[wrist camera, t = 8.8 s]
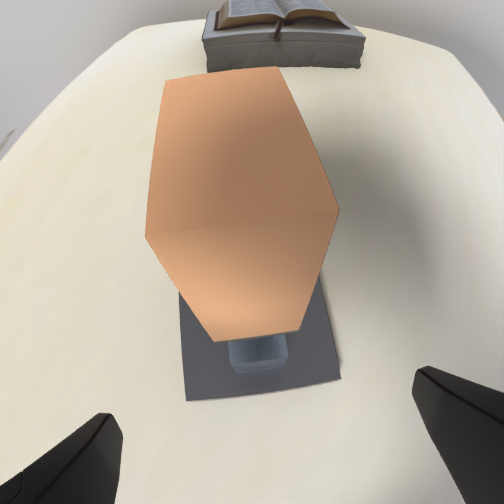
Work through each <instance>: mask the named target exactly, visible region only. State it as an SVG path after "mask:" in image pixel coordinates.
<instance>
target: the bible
mask: <svg viewBox="0 0 504 504" xmlns="http://www.w3.org/2000/svg"><path fill="white" fill-rule="evenodd" d="M365 39H366V37H365V36H364V35H363V34H362V33H361V32H359V31H358V30H357V29H356V28H355V27H354V26H352V25H351V24H350V23H349V22H347V21H346V20H345V19H344V18H343V17H342V16H340V15H339V14H338V13H337V12H335V11H334V10H333V9H331V8H328V7H327V6H326V5H324V4H323V3H322V2H321V1H320V0H228V1H227V2H226V3H225V4H224V5H223V6H222V8H221V9H220V10H212V11H209V12H208V15H207V19H206V24H205V28H204V31H203V35H202V42H203V43H204V49H205V52H206V55H207V73H212V72H221V71H228V70H233V69H247V68H259V67H273V66H278V67H303V66H304V67H310V66H312V67H326V68H356V69H358V68H360V66H361V64H360V60H359V59H360V57H361V56H362V53H363V49H364V42H365Z"/></svg>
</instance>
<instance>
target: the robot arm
mask: <svg viewBox="0 0 504 504" xmlns="http://www.w3.org/2000/svg"><path fill="white" fill-rule="evenodd" d="M412 395H413V398H414V400H415V403H416V405H417V407H418V410H419V412H420V414H421V417H422V419H423V421H424V424H425V426H426V429H427V431H428V433H429V435H430V437H431V439H432V441H433V442H434V444H435V446H436V448H437V450H438V451H439V453H440V455H441V457H442V459H443V461H444V462H445V464H446V466H447V468H448V470H449V472H450V474H451V475H452V477H453V479H454V481H455V483H456V485H457V487H458V489H459V491H460V493H461V495H462V497H463V499H464V501H465V503H466V504H504V393H503V392H500V391H497V390H494V389H491V388H488V387H485V386H483V385H480V384H477V383H474V382H472V381H469V380H466V379H463V378H461V377H458V376H455V375H452V374H450V373H447V372H444V371H442V370H439V369H437V368H434V367H431V366H425V367H422V368H420V369H418V370H417V371H416V373H415V378H414V382H413V387H412ZM122 443H123V434H122V431H121V429H120V427H119V426H118V424H117V422H116V420H115V418H114V416H113V415H112V414H110V413H98V414H97V415H95V416H94V417H93V418H91V419H90V420H89V421H88V422H86V423H85V424H84V425H82V426H81V427H80V428H78V429H77V430H76V431H75V432H73V433H72V434H71V435H69V436H68V437H67V438H65V439H64V440H63V441H61V442H60V443H59V444H58V445H56V446H55V447H54V448H52V449H51V450H50V451H48V452H47V453H46V454H44V455H43V456H41V457H40V458H39V459H37V460H36V461H35V462H33V463H32V464H31V465H29V466H28V467H27V468H25V469H24V470H23V472H22V471H21V472H20V473H18V474H17V475H15V476H14V477H13V478H11V479H10V480H8V481H7V482H5V483H4V484H2V485H1V486H0V504H114V503H115V498H116V493H117V487H118V482H119V475H120V464H121V453H122Z"/></svg>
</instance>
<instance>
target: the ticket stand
mask: <svg viewBox="0 0 504 504" xmlns="http://www.w3.org/2000/svg"><path fill="white" fill-rule="evenodd" d="M179 310H180V329H181V345H182V359H183V372H184V383H185V394H186V401H189V402H195V401H208V400H220V399H230V398H239V397H247V396H255V395H263V394H269V393H276V392H282V391H288V390H294V389H300V388H305V387H310V386H315V385H320V384H325V383H330V382H334V381H338V380H340V379H341V376H340V371H339V366H338V361H337V356H336V351H335V347H334V342H333V337H332V333H331V328H330V324H329V319H328V315H327V311H326V306H325V302H324V298H323V294H322V289H321V285H320V281H319V277H318V278H317V281H316V284H315V287H314V290H313V293H312V295H311V298H310V301H309V304H308V306H307V309H306V312H305V315H304V317H303V320H302V323H301V325H300V328H299V331H298V332H295V333H289V334H283V335H276V336H270V337H263V338H256V339H249V340H241V341H233V342H225V343H217V344H215V343H214V341H213V340H212V339H211V337H210V336H209V334H208V333H207V332H206V330H205V329H204V327H203V326H202V324H201V323H200V322H199V320H198V319H197V317H196V316H195V314H194V313H193V311H192V310H191V308H190V307H189V305H188V304H187V302H186V301H185V299H184V298H183V296H182V295H181V293H180V292H179Z"/></svg>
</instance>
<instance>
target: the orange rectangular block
mask: <svg viewBox="0 0 504 504" xmlns="http://www.w3.org/2000/svg"><path fill="white" fill-rule="evenodd" d="M338 213H339V208H338V205H337V202H336V200H335V197H334V194H333V192H332V189H331V186H330V184H329V181H328V178H327V176H326V173H325V171H324V168H323V166H322V163H321V161H320V158H319V156H318V154H317V151H316V149H315V146H314V144H313V142H312V139H311V137H310V135H309V132H308V130H307V128H306V125H305V123H304V121H303V119H302V116H301V114H300V112H299V110H298V108H297V106H296V103H295V101H294V99H293V97H292V95H291V93H290V91H289V89H288V86H287V84H286V82H285V80H284V78H283V76H282V74H281V72H280V70H279V68H278V66H273V67H259V68H247V69H238V70H229V71H221V72H214V73H207V74H200V75H194V76H189V77H183V78H178V79H173V80H168V81H165V85H164V90H163V95H162V101H161V106H160V112H159V118H158V124H157V130H156V137H155V143H154V150H153V158H152V166H151V174H150V183H149V193H148V203H147V214H146V227H145V238H146V240H147V241H148V243H149V245H150V246H151V248H152V250H153V251H154V253H155V254H156V256H157V258H158V259H159V261H160V262H161V264H162V266H163V267H164V269H165V270H166V272H167V273H168V275H169V277H170V278H171V280H172V281H173V283H174V284H175V286H176V287H177V289H178V290H179V292H180V293H181V295H182V296H183V298H184V299H185V301H186V302H187V304H188V305H189V307H190V308H191V310H192V311H193V313H194V314H195V316H196V317H197V319H198V320H199V322H200V323H201V324H202V326H203V327H204V329H205V330H206V332H207V333H208V334H209V336H210V337H211V339H212V340H213V341H214V343H215V344H217V343H225V342H233V341H241V340H249V339H256V338H263V337H270V336H276V335H283V334H289V333H295V332H298V331H299V328H300V325H301V323H302V320H303V317H304V315H305V312H306V309H307V306H308V304H309V301H310V298H311V295H312V293H313V290H314V287H315V284H316V281H317V278H318V275H319V272H320V269H321V266H322V263H323V260H324V257H325V254H326V251H327V248H328V245H329V242H330V239H331V236H332V233H333V230H334V226H335V223H336V220H337V217H338Z"/></svg>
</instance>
